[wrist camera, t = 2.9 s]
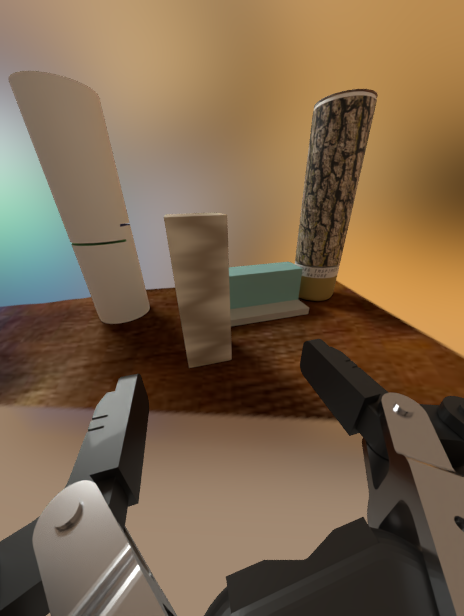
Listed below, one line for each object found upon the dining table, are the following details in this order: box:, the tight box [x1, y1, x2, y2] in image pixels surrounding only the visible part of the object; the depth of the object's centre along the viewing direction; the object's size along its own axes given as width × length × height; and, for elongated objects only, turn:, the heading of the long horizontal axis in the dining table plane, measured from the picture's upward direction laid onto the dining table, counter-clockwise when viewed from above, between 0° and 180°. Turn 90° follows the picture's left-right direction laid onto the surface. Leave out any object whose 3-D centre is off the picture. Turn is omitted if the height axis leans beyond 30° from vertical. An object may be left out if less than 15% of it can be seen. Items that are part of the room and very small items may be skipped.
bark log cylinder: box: [295, 89, 377, 301], centre depth 30 cm, size 7×7×25 cm
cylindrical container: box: [9, 71, 150, 324], centre depth 26 cm, size 7×7×25 cm
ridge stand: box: [229, 262, 309, 326], centre depth 31 cm, size 15×10×6 cm, turn 105°
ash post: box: [164, 213, 232, 368], centre depth 20 cm, size 4×4×14 cm
